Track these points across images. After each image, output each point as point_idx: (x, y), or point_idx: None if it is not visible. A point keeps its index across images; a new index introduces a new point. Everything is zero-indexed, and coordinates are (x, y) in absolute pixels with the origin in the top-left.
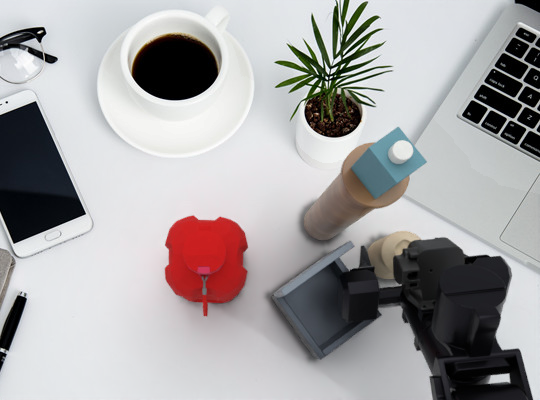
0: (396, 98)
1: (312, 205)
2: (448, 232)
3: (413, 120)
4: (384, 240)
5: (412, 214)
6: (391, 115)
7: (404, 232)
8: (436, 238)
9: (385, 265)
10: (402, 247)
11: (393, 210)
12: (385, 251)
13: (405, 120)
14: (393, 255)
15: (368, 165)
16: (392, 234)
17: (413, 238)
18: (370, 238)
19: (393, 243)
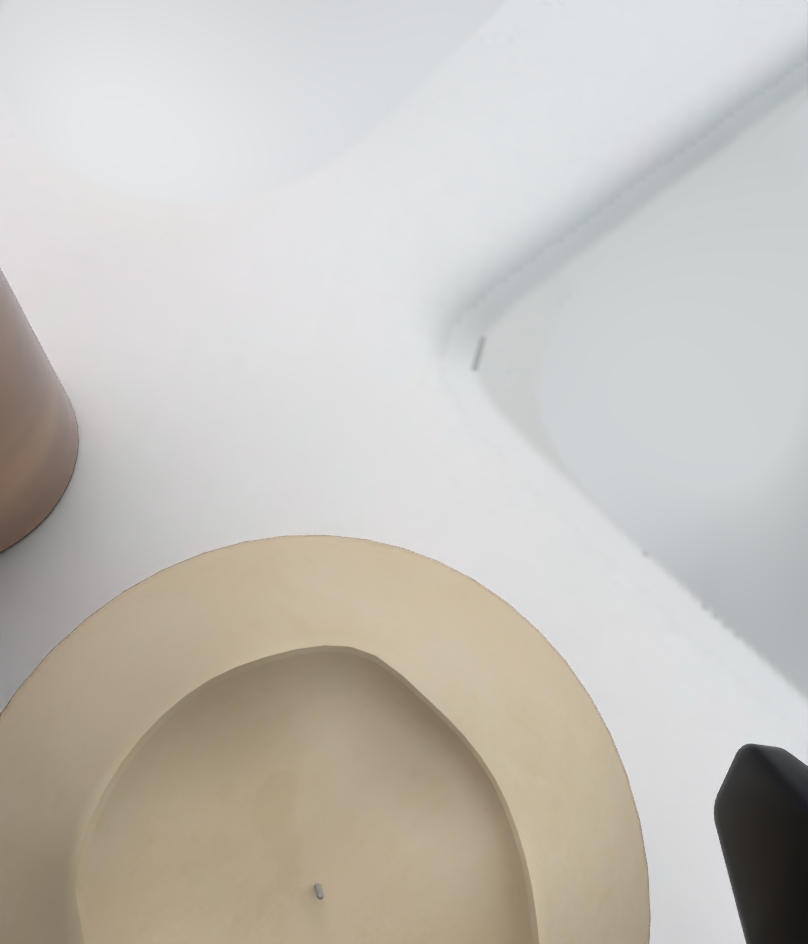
0: (586, 25)
1: None
2: (747, 730)
3: (645, 124)
4: (105, 610)
5: (547, 558)
6: (548, 74)
7: (401, 564)
8: (770, 755)
9: None
10: (291, 779)
11: (438, 503)
12: (3, 781)
13: (608, 112)
14: (51, 904)
15: None
16: (235, 552)
17: (500, 674)
18: None
19: (150, 672)
